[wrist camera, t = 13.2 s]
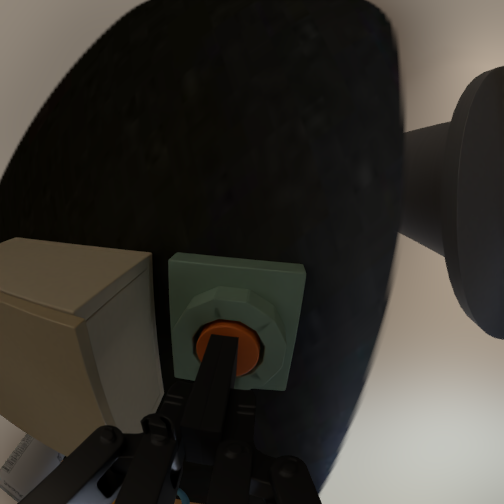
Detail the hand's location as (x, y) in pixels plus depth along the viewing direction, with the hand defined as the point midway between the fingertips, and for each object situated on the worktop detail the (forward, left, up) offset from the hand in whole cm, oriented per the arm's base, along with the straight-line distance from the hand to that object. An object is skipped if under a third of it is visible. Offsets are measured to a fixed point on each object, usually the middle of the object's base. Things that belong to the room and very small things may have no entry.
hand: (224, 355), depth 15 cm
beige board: (+12, +2, +5) cm, 14 cm away
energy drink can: (+25, +24, -4) cm, 35 cm away
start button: (0, 0, -2) cm, 2 cm away
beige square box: (+13, +2, -4) cm, 14 cm away
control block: (0, 0, -4) cm, 4 cm away
